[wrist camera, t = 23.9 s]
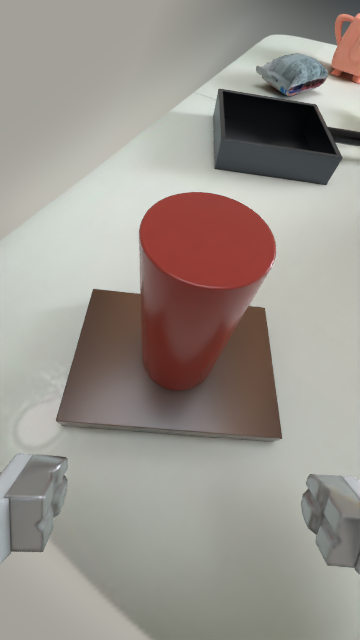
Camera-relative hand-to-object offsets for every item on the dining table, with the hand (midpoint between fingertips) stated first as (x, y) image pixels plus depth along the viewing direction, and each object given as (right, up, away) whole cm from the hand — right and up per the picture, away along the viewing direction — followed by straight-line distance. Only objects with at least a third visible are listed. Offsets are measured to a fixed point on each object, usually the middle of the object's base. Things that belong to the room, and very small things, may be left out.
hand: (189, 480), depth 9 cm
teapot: (+38, +61, +52) cm, 89 cm away
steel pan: (+17, +30, +31) cm, 46 cm away
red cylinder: (0, +3, +10) cm, 10 cm away
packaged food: (+20, +50, +43) cm, 70 cm away
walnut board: (-1, +2, +11) cm, 12 cm away
